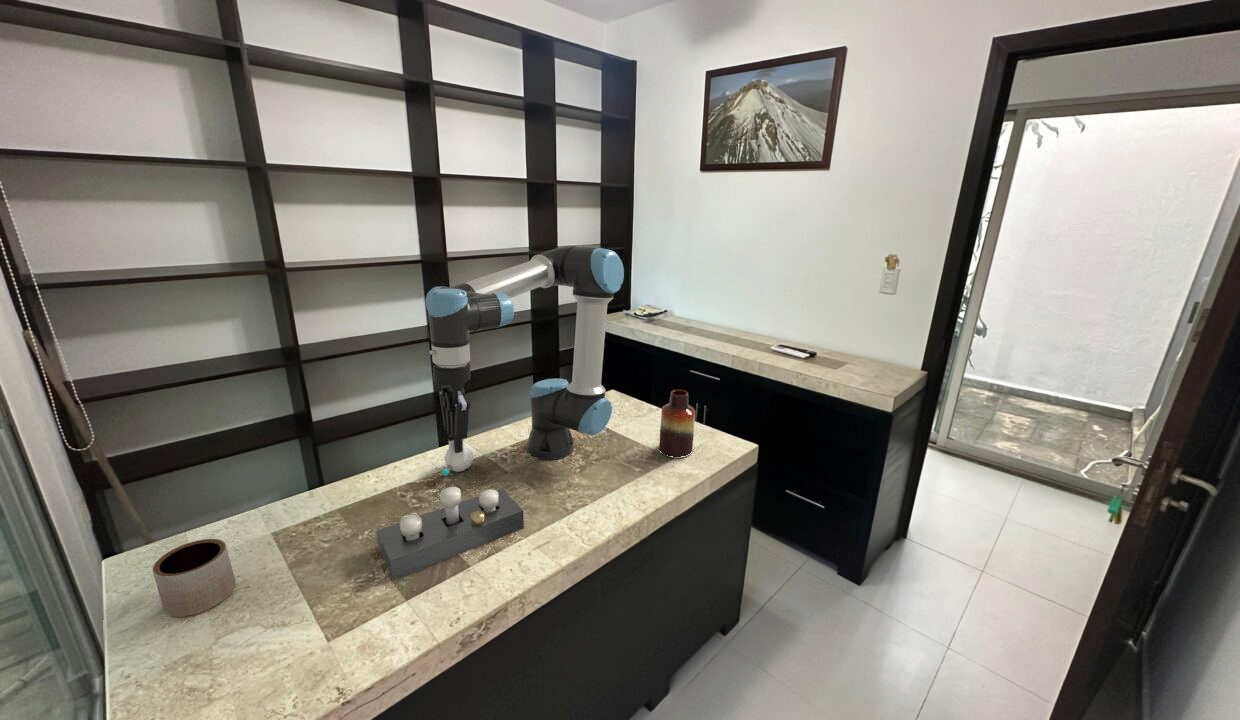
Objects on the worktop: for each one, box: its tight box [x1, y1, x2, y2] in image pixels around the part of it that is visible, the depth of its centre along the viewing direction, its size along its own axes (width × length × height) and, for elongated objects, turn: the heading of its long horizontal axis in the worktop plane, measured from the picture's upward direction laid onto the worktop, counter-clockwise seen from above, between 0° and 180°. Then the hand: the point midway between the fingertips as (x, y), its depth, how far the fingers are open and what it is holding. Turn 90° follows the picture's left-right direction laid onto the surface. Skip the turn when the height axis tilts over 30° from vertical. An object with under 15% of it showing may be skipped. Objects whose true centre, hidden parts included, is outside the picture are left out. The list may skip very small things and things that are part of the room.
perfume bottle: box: [441, 444, 474, 477], centre depth 142 cm, size 8×8×12 cm
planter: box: [152, 538, 236, 618], centre depth 94 cm, size 11×11×10 cm
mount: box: [376, 488, 525, 581], centre depth 114 cm, size 30×12×5 cm, turn 128°
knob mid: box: [439, 486, 462, 526], centre depth 112 cm, size 4×4×8 cm
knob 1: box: [399, 514, 422, 542], centre depth 108 cm, size 4×4×8 cm
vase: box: [658, 389, 696, 457], centre depth 157 cm, size 11×11×20 cm
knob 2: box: [478, 489, 499, 514], centre depth 119 cm, size 4×4×8 cm
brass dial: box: [471, 511, 485, 526], centre depth 112 cm, size 3×3×2 cm
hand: (457, 463), depth 110 cm, fingers closed
